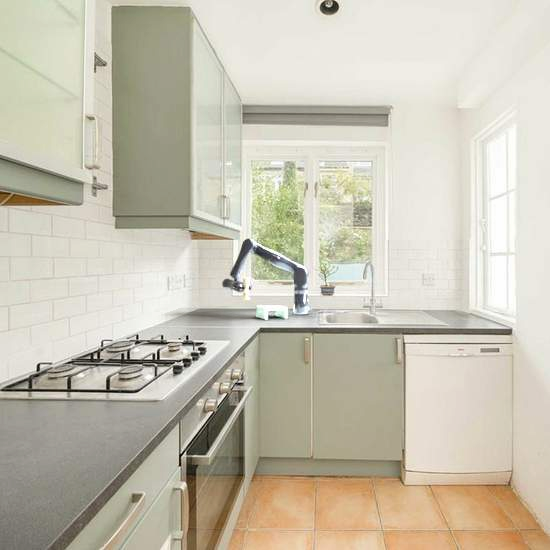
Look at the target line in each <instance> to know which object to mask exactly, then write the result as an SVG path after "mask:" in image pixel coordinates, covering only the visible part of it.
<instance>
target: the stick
mask: <svg viewBox="0 0 550 550" xmlns="http://www.w3.org/2000/svg"><path fill="white" fill-rule="evenodd" d="M242 282H243V286H245V290H243V292H242V297H241V300H243V301H244V300H245V301H248V300H251V297H250V290H249V285H250V278H249V277H243V279H242Z"/></svg>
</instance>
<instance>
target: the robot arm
mask: <svg viewBox="0 0 550 550" xmlns="http://www.w3.org/2000/svg"><path fill="white" fill-rule="evenodd" d="M250 254H253V255H255V256H258V257H259V258H261V259H263V261H265V262H266V263H268V264H270V265H272V266H274V267H276V268H279V269H282V270H284V271H288V272H289V273H291V274H293V287H294V288H293V289H294V290H293V308H292V311H293V314H295V315H308V314H309V311H311V312H312V313H313V314H318V313H337V314H340V313H345V312H347V313H349V311H348V310H347V309H344V310H342V311H332V310H319V311H314V310H313V309H312V308H311V306H310V303H309V299H308V292H309V291H308V289H309V288H308V286H309V285H308V276H309V274H310V271H309V268H307V267H306V266H304V265H302V264H299V263H297V262H295V261H292V260H291V259H290V258H288V257H286V256H284V255H282V254H281V253H279V252H277V251H274V250H272V249H269V248H267V247H265V246H262V245H261V244H259V243H257V242H256V240H254V239H251V238H246V239H244V240H243V241H242V243H241V248H240V250H239V253H238V256H237V258H236V260H235V262H234V265H233V266H232V268H231V270H230V272H229V276H230V277H231V278H232V279H230V278H225V279H223V280H222V283H221V286H222V288H224V289H226V290H228V291H230V292H236V293H243V290H245V286H243V280H242V281H241V280H239V279H240V277H241V274H242V272H243V270H244V268H245V263H246V261H247V258H248V256H249V255H250ZM251 290H253V286H252V284H249V291H251Z"/></svg>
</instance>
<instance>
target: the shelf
mask: <svg viewBox="0 0 550 550" xmlns="http://www.w3.org/2000/svg"><path fill="white" fill-rule="evenodd" d="M270 311H272V312H273V311H275V312H274V314H275V315H274V316H275V317H279V318H282V319H288V318H289V317H288V316H289V314H288V313H289V307H288V306H283V305H279V304H276V305H275V304H273V305H255V317H256V318H258V319H262V320H269V312H270Z"/></svg>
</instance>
